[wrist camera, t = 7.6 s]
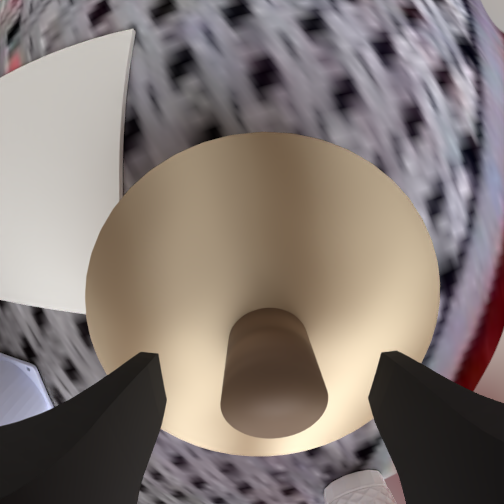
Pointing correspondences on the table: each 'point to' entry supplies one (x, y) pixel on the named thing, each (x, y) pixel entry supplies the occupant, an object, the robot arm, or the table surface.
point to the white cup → (359, 489)
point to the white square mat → (60, 167)
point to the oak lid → (263, 289)
